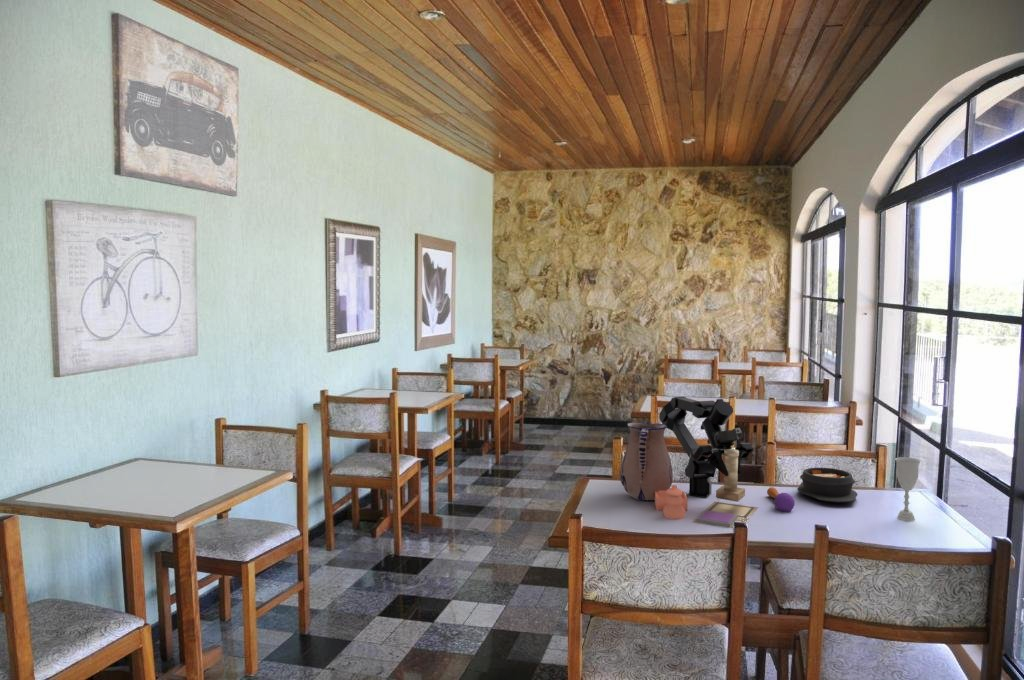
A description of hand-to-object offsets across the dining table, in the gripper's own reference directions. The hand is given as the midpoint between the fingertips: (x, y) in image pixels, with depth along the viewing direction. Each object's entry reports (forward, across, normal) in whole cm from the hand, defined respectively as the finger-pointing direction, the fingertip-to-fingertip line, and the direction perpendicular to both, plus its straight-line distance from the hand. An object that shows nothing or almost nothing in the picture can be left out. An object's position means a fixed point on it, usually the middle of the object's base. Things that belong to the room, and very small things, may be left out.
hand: (733, 475), depth 228 cm
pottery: (+4, -18, +12) cm, 22 cm away
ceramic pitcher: (-6, -20, +24) cm, 31 cm away
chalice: (+22, +47, -6) cm, 52 cm away
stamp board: (+10, -4, +6) cm, 13 cm away
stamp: (+4, 0, +6) cm, 8 cm away
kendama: (+6, +19, +11) cm, 23 cm away
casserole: (+4, +40, +13) cm, 42 cm away
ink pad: (+13, -10, +3) cm, 16 cm away
